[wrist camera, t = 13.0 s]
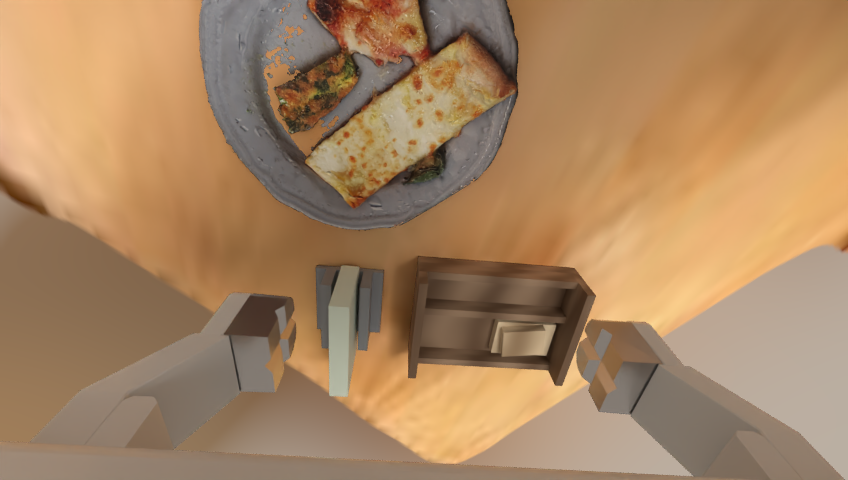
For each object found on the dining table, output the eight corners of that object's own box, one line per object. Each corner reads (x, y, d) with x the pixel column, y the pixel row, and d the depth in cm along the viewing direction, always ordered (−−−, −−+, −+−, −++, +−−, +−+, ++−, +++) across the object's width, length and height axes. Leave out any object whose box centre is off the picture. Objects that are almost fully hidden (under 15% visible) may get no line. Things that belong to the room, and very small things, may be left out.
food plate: (419, -190, 24) (420, -225, 21) (556, 124, 33) (570, 133, 30) (156, 41, 30) (126, 40, 27) (336, 252, 39) (329, 271, 36)
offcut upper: (542, 324, 40) (545, 330, 39) (539, 348, 42) (542, 354, 41) (501, 326, 40) (503, 332, 39) (499, 350, 42) (501, 356, 41)
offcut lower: (552, 318, 41) (556, 325, 40) (542, 348, 43) (546, 355, 42) (496, 314, 41) (498, 321, 40) (488, 345, 43) (490, 352, 42)
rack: (574, 268, 40) (596, 295, 35) (546, 351, 45) (562, 385, 41) (418, 256, 39) (419, 283, 34) (408, 343, 44) (408, 377, 39)
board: (356, 347, 43) (347, 396, 37) (341, 346, 43) (329, 395, 37) (359, 266, 38) (349, 307, 32) (341, 265, 38) (328, 306, 32)
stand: (383, 270, 39) (381, 289, 36) (379, 329, 43) (377, 351, 40) (317, 265, 39) (308, 284, 35) (318, 325, 42) (311, 347, 39)
